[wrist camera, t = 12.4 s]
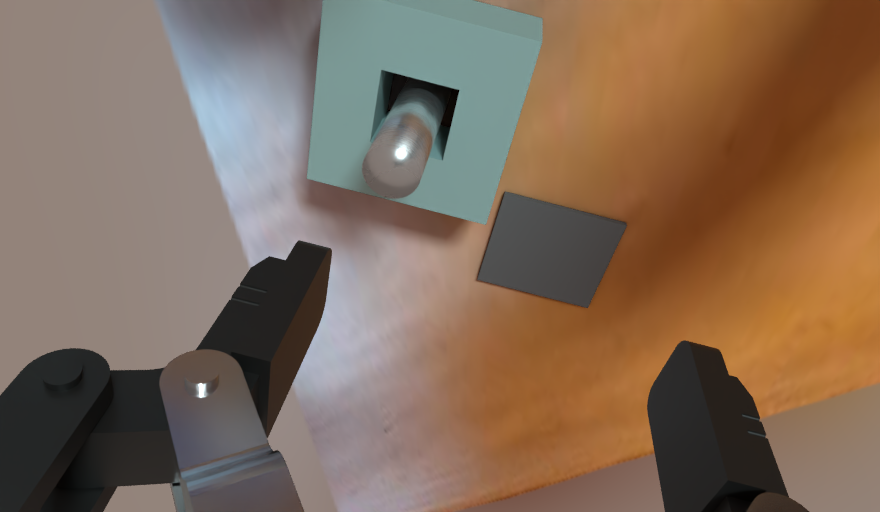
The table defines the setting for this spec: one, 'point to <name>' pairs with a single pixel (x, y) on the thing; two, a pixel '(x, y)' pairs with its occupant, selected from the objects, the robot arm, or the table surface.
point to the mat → (549, 249)
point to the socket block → (433, 60)
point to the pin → (406, 139)
